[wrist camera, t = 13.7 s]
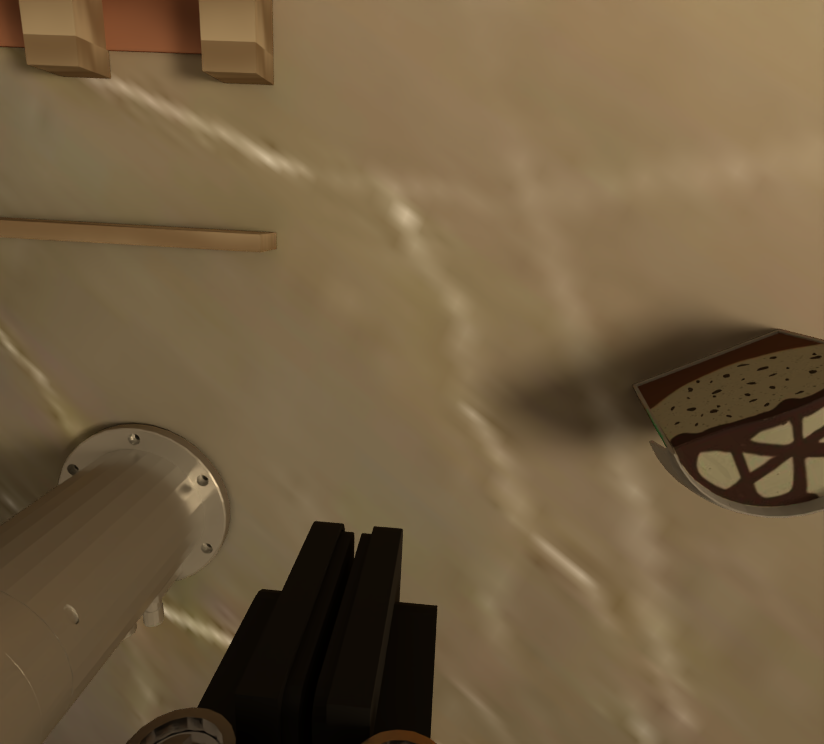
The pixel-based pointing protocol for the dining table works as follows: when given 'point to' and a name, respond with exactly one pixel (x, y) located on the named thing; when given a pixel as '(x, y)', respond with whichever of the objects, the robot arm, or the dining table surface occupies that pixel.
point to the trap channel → (141, 32)
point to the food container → (746, 425)
